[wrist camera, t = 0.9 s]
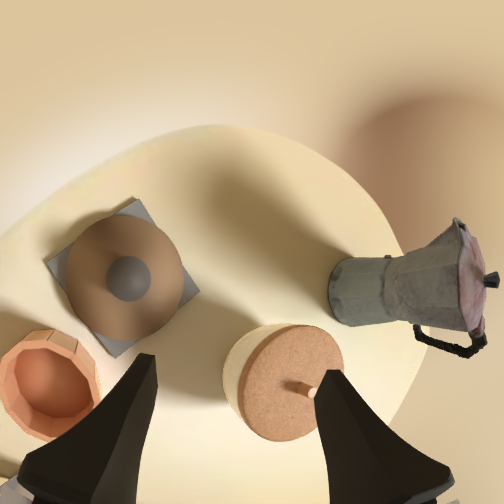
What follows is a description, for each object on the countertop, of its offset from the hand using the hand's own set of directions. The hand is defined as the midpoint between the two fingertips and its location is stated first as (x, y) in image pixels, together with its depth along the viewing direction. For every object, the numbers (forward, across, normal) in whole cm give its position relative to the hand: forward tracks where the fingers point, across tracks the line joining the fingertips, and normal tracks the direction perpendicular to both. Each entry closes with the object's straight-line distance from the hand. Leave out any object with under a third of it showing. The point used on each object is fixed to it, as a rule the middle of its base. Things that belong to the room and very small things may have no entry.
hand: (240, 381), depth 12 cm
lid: (+13, +9, +4) cm, 16 cm away
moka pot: (+23, -16, +9) cm, 29 cm away
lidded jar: (+14, -3, +13) cm, 19 cm away
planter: (+6, +15, +11) cm, 20 cm away
